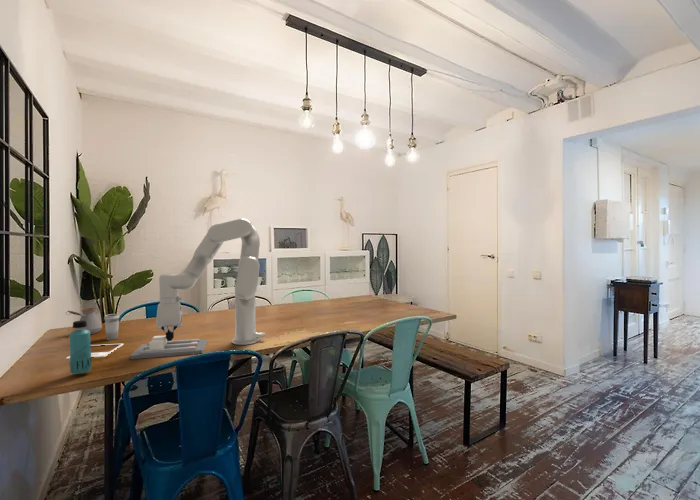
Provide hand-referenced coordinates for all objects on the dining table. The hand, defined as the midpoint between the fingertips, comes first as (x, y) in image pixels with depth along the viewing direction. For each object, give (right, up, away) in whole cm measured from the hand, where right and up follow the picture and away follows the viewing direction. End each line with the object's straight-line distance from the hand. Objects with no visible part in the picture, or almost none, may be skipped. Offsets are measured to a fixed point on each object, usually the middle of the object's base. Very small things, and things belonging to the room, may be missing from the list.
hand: (169, 340), depth 161 cm
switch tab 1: (-4, -2, -1) cm, 5 cm away
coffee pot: (-57, -3, +22) cm, 61 cm away
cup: (-37, -4, +16) cm, 41 cm away
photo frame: (-31, -5, -4) cm, 31 cm away
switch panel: (+2, -4, -3) cm, 5 cm away
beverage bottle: (-17, -5, -32) cm, 36 cm away
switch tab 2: (-2, -2, -8) cm, 8 cm away
